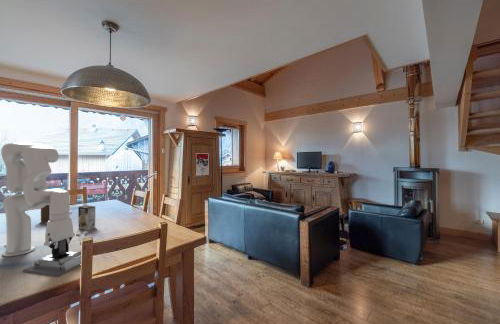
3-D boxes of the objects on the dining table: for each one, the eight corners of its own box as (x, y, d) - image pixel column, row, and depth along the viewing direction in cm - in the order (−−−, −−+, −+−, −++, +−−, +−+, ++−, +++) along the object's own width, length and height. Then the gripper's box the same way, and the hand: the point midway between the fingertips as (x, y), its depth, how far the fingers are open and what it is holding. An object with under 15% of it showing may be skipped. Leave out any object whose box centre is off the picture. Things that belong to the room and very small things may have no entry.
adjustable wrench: (85, 244, 137) (85, 241, 137) (72, 246, 134) (72, 243, 134) (88, 232, 159) (88, 229, 159) (76, 233, 155) (76, 231, 155)
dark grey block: (52, 262, 108) (52, 241, 107) (61, 258, 112) (61, 238, 111) (59, 262, 107) (59, 241, 107) (68, 259, 111) (67, 238, 111)
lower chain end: (32, 267, 106) (32, 260, 106) (57, 257, 116) (57, 251, 116) (58, 271, 103) (58, 264, 103) (81, 260, 113) (81, 253, 113)
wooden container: (52, 218, 192) (51, 192, 192) (69, 218, 192) (69, 192, 192) (35, 223, 177) (35, 195, 177) (54, 223, 177) (54, 195, 177)
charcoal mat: (23, 271, 104) (23, 269, 104) (59, 256, 119) (59, 254, 119) (58, 276, 100) (58, 274, 100) (90, 260, 115) (90, 258, 115)
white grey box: (37, 268, 105) (37, 257, 105) (62, 257, 116) (61, 247, 116) (64, 271, 102) (64, 260, 102) (86, 260, 113) (86, 250, 113)
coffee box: (78, 229, 164) (77, 206, 164) (86, 226, 171) (86, 205, 170) (87, 230, 162) (87, 207, 161) (95, 227, 168) (95, 206, 167)
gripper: (70, 211, 118) (71, 246, 118) (34, 220, 101) (34, 261, 102) (82, 212, 116) (83, 248, 117) (47, 221, 100) (48, 262, 100)
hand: (60, 253), depth 109 cm, fingers closed on dark grey block, 4 cm apart
